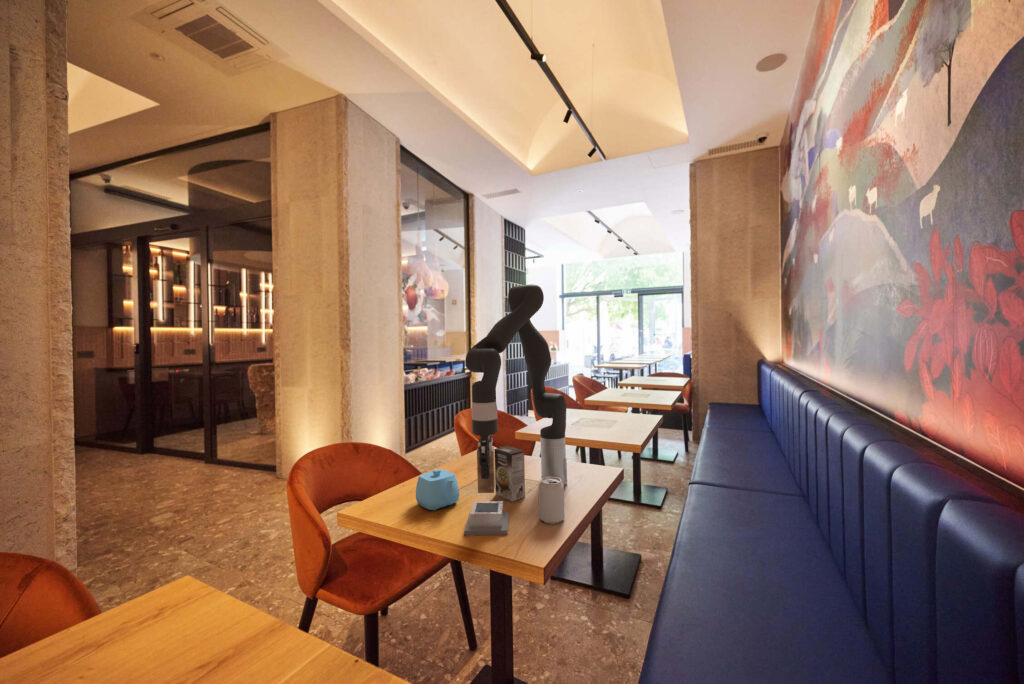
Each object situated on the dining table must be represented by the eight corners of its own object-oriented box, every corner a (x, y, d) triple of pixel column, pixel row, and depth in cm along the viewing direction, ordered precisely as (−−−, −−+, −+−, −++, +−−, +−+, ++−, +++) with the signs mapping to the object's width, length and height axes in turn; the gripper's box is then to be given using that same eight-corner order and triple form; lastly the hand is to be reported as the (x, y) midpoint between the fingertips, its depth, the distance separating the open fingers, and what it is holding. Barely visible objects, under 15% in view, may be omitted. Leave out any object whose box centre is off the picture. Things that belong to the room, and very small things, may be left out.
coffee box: (494, 494, 143) (493, 448, 143) (508, 489, 147) (507, 445, 147) (511, 502, 136) (510, 453, 136) (526, 496, 141) (524, 449, 140)
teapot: (437, 520, 125) (436, 482, 125) (410, 503, 138) (409, 469, 138) (471, 508, 133) (470, 472, 133) (442, 493, 146) (441, 461, 146)
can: (548, 527, 118) (547, 485, 117) (534, 517, 124) (533, 478, 124) (569, 521, 121) (568, 480, 121) (555, 512, 128) (554, 473, 128)
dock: (508, 515, 126) (508, 498, 126) (507, 534, 114) (506, 515, 114) (469, 516, 126) (469, 499, 126) (464, 535, 114) (463, 516, 114)
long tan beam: (494, 487, 122) (493, 446, 122) (493, 492, 118) (492, 450, 118) (479, 487, 122) (478, 447, 122) (477, 493, 118) (476, 451, 118)
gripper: (495, 421, 113) (497, 484, 113) (498, 412, 127) (500, 467, 127) (468, 422, 113) (470, 484, 113) (474, 412, 127) (476, 468, 127)
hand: (486, 475), depth 120 cm, fingers closed on long tan beam, 4 cm apart
